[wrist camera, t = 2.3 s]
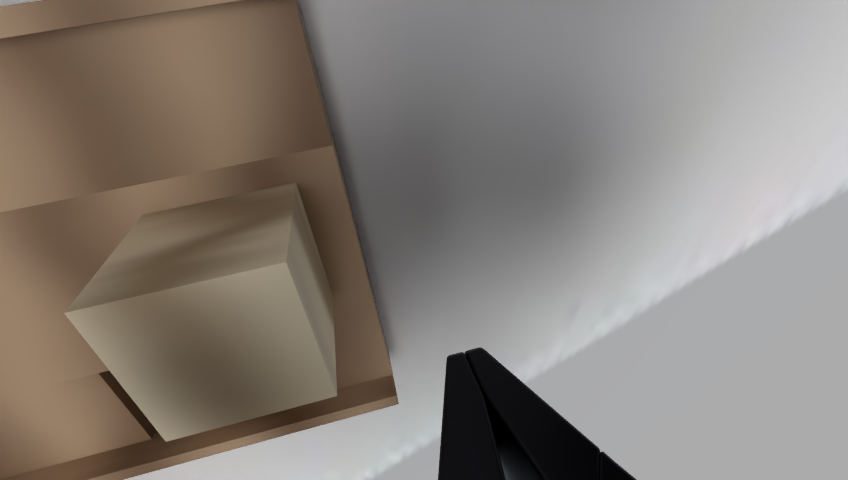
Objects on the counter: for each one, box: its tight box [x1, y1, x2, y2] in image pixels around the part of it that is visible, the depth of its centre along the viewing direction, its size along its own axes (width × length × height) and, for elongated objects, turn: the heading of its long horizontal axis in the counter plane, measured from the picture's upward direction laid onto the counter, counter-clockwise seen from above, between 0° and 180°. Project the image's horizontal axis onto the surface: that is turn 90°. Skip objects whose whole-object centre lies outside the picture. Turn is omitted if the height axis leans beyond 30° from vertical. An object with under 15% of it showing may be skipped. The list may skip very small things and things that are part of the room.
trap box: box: [0, 0, 398, 480], centre depth 14 cm, size 23×17×4 cm
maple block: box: [64, 183, 337, 442], centre depth 13 cm, size 5×5×5 cm
